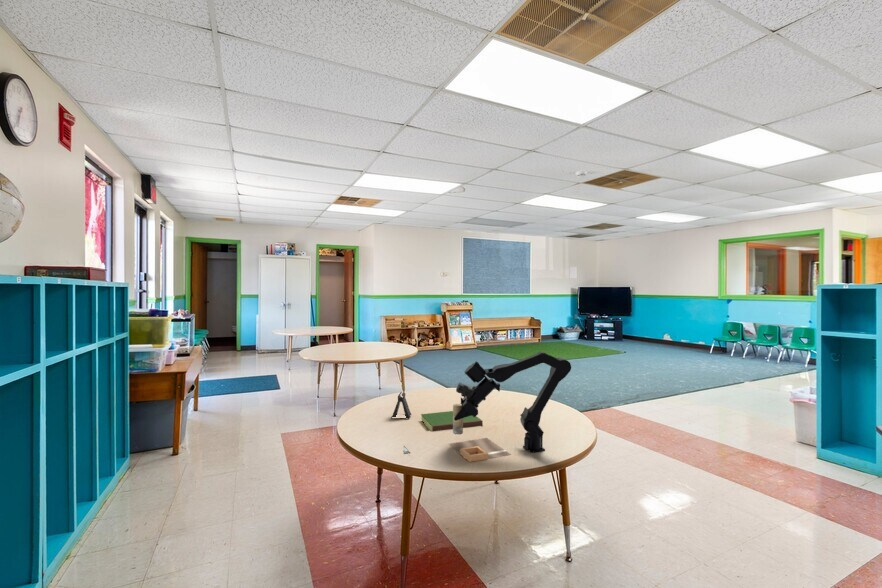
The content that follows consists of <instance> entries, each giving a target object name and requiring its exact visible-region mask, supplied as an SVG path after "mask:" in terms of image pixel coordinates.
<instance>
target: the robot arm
mask: <svg viewBox="0 0 882 588" xmlns="http://www.w3.org/2000/svg"><path fill="white" fill-rule="evenodd" d="M541 364H545V365H548V366H550V368H549V374H548V375H549V376H548V377H547V378H546V381H544V384H543V386H542V388H541V389H540V390H539V392H538V395H537V396H536V398H535V400H534V402H532V405H530V407H528V408H527V406H526V407H524V409H523V411H522V413H520V415H519V417H520V421H519V422H520V424H521V425H522V428H523V429H524V430H525V431H526V432H524V439H523V440H524V441H523V443H524V444H523V445H522V448H523V449H525V450H527V451H529V452H530V453H537V452H544V451H545V450H546V448H545V447H543V441H544V440H543V436H544V433H545V432H544V430H543V429H542V428H541V426H540V423H541V422H540V421H541V418H542V413H543V411H544V409H545V407H546V406H547V404H548V403H549V400H550V399H551V397H552V395H553V394H554V392H555V390H556V388H557V386H558V385H559V383H560V382H561V381H563V380H564V379H565V378H566V377H567V375H568V374H569V373H570V372H571V370H572V364H571V362H570V361H569V360H567V359H566V358H563V357H559V356H558V357H555V356H552V355H550V354H547V353H546V352H544V351H539V352H536V353H535V354H532V355H530V356H527V357H524V358H522V359H519V360H517V361H514V362H510V363H502V364H497V365H495V366H493V367H492V368H485V369H484V368H483V366H482V365H480V363H479V361H477V360H476V361H475V362H473V363H472V364H470V365H469V366H467V368H465V371H464V372H463V373H464V374H465V375H466V376H467V377H468V378H469V379H470V380H471V381H472V382H473V383H477V385H476V386H475V385H473V386H472V387H471V386H469V385H466V384H464V383H463V382H458V383H457V386H456V388H455V391H456V393H458V394H460V395H461V397H460V404H462V408H461V409H460V411H459V412H458V413H457V415H456V416H455V418H454V420H455V421H456V420H459V419H462V418H465V417H468V416H473V417H476V416H477V417H478V415H479V409H478V408H479V404H481V403H482V402H483V401H485V402H486V400H487V397H488V396H489V395H490V394H491V393H492V392H493V391H494V390H495V389H496V391H498V392H500V391H501V390H500V388H501V384H500V383H504V382H505V381H507V380H508V379H511V378H512V377H513V376H514V375H515V374H518V373H519V372H523V371H525V370H528V369H530V368H533V367H536V366H537V365H541Z"/></svg>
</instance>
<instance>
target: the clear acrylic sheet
mask: <svg viewBox="0 0 882 588" xmlns="http://www.w3.org/2000/svg"><path fill="white" fill-rule="evenodd" d="M448 445H449V446H450V447H451V448H452V450H454V451H455V452H456V453H458V454H459V455H460V456H461V457H463V456H462V455H461V454H460V449H463V448H469V447H475V446H479V447H480V448H481V449H483V450H484V451H485V452H487V453H488V459H484V460H483V461H485V460H489V459H490V460H491V459H496V458H501V457H507V456H511V455H512V454H511V453H510V452H508V451H507V450H506V449H504V448H503V447H501V446H500V445H498V444H497V443H495V442H494V441H492V440H491V439H490V438H488V437H484V438H478V439H470V440H463V441H458V442H457V441H456V442H452V443H451V442H450V443H448ZM474 454H478V453H471V454H470V455H474ZM463 458H464V460H466V462H468V463H470V462H469V461H468V460H467V459H466V458H465V457H463ZM479 461H481V460H478V461H477V462H479ZM473 462H476V461H472V462H471V463H473Z"/></svg>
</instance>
